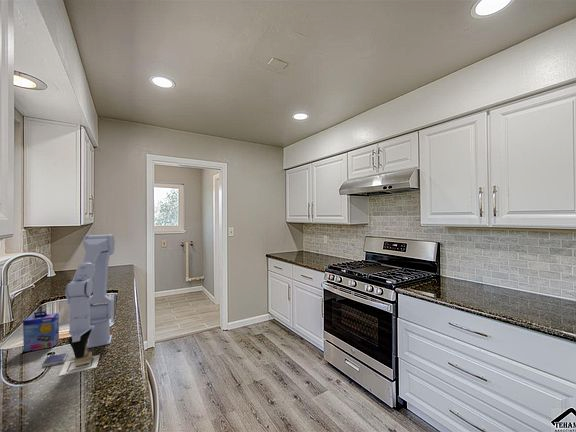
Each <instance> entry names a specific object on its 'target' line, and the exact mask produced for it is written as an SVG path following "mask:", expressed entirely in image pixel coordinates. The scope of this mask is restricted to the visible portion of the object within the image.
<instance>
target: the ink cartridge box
mask: <svg viewBox="0 0 576 432" xmlns="http://www.w3.org/2000/svg"><path fill="white" fill-rule="evenodd" d="M33 314H34V315H32V316H30V315H29V316H28V317H27V318H25V319H23V320H22V327H23V328H22V332H23V334H22V335H23V339H22V340H23V352H24V353H25V352H30V351H31V350H32V351H36V350H44V348H45V349H50V348H49V347H51V348H54V347H53V346H55V345H56V344H57V343H58V342H59V343H60V324H59V317H60V316H59V313H58V312H54V313H47V312H46V311H44V310H42V311H35V312H33ZM59 343H58V344H59ZM58 344H57V345H58ZM57 345H56V346H57ZM56 346H55V347H56Z"/></svg>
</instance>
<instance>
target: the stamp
mask: <svg viewBox="0 0 576 432" xmlns="http://www.w3.org/2000/svg"><path fill="white" fill-rule="evenodd" d="M87 341H89V338H88V339H87ZM87 344H88V342H86V346H85V352H84V356H83V357H81V358H75V359H74V360H75V366H76V367H79V366H83V365H86V364H90V362H91V359H92V356H93V351H88V348H87Z"/></svg>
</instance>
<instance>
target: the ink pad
mask: <svg viewBox="0 0 576 432" xmlns="http://www.w3.org/2000/svg"><path fill="white" fill-rule="evenodd" d="M68 357H69V353H68V352H65V353H59V354H55V355H51V356H47V357H46V358H45V360H44V361H43V362H42V364H41V368H45V367H46V368H47V367H52V366H56V364H57V365H60V364H65V363H66V360H67V358H68Z"/></svg>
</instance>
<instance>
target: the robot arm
mask: <svg viewBox="0 0 576 432" xmlns="http://www.w3.org/2000/svg"><path fill="white" fill-rule="evenodd" d="M115 242H116V241H115V236H114V235H113V234H112V233H109V234H86V235H85V236H84V237H83V241H82V246H83V248H84V251H85V254H84V258H83V261H82V263H80V264H78V266H77V267H76V271H75V273H74V275H73V278H72V280H71V281H70V282H68V283H67V284H66V287H65V297H66V303H67V305H68V311H69V312H68V315H69V317H68V318H69V330H68V334H69V335H70V336H71V337H69V338H68V339H67V342H68V344H69V345H70V347H71V348H72V351H73V355H74V358H75V359H76V358H81V357H83V356H84V352H85V346H86V342H87V349H90V348H91V349H92V348H95V347H101V346H104V345H105V346H106V345H110V344H111V343H112V342H111V341H112V338H113V334H111V329H110V328H111V326H110V320H112V318H113V317H114V314H115V303H114V299H113V298H111V296H108V295H107V290H108V277H109V276H108V275H109V262H110V261H109V260H110V256H112V255H114V252H115V244H116V243H115ZM91 295H92V296H91ZM87 339H88V341H87Z"/></svg>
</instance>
